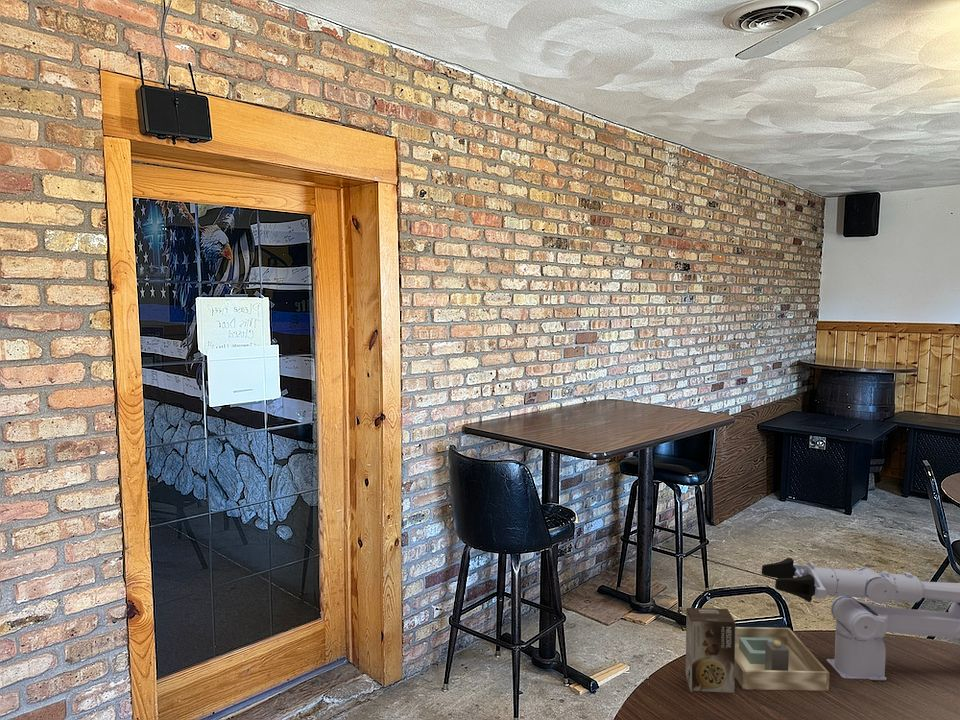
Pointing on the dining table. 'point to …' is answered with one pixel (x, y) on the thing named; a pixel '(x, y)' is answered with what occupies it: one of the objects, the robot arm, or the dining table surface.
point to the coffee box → (710, 650)
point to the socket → (750, 645)
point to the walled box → (799, 676)
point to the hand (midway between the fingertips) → (769, 576)
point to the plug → (776, 656)
